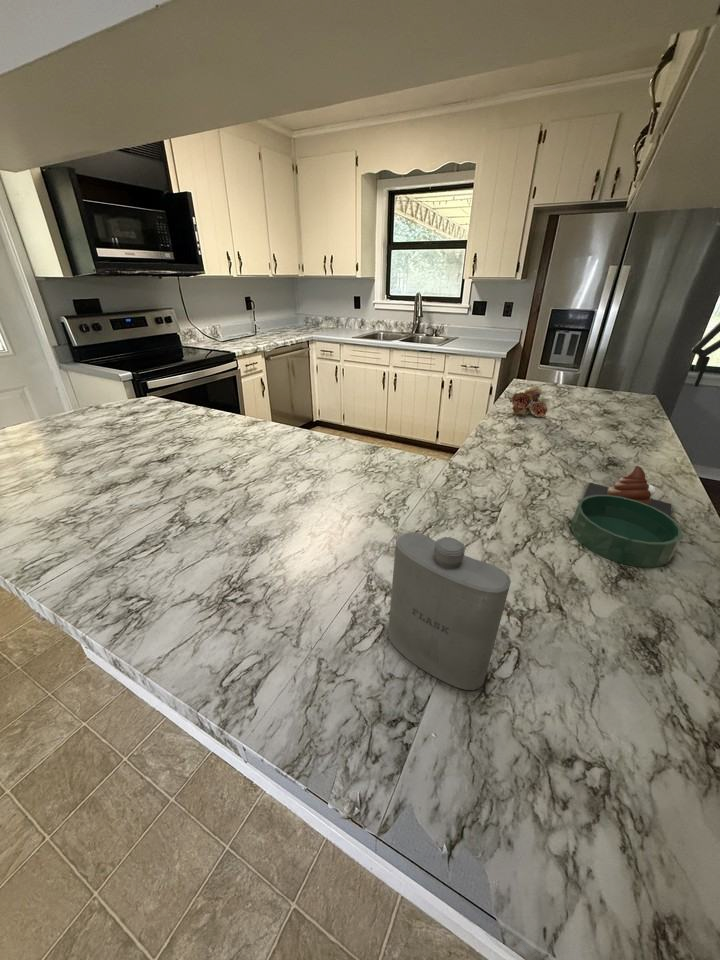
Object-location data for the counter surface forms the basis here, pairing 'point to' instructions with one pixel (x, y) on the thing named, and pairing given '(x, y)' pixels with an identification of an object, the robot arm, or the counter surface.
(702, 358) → the robot arm
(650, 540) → the green round dish
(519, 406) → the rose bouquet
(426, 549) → the flask
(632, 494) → the poop emoji
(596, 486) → the mat
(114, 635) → the counter surface
